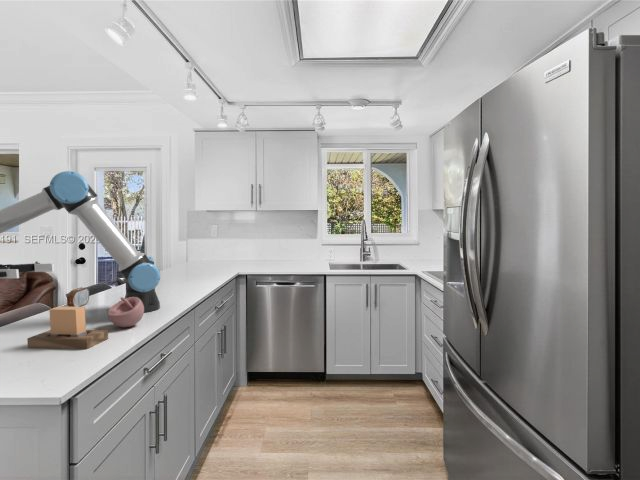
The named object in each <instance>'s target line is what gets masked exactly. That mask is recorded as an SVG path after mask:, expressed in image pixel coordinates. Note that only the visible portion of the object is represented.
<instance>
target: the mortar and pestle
mask: <svg viewBox="0 0 640 480" xmlns="http://www.w3.org/2000/svg"><path fill="white" fill-rule="evenodd" d="M144 315H145V312H144V305H143V303H142V301H141V300H140V299H139V298H138V297H129V298H126V299H125V297H123V296H122V297H121V296H120V300H119V301H118V302H116V303H114V304H113V305H112V306H111V307H110V308H109V310H108V311H107V317H108V319H109V321H110V322H111V323H112V324H113V325H114V326H116V327H119V328H131V327H134V326H135V325H137V324H138V323H139V322H140V321H141V320H142V319H143V317H144Z"/></svg>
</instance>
